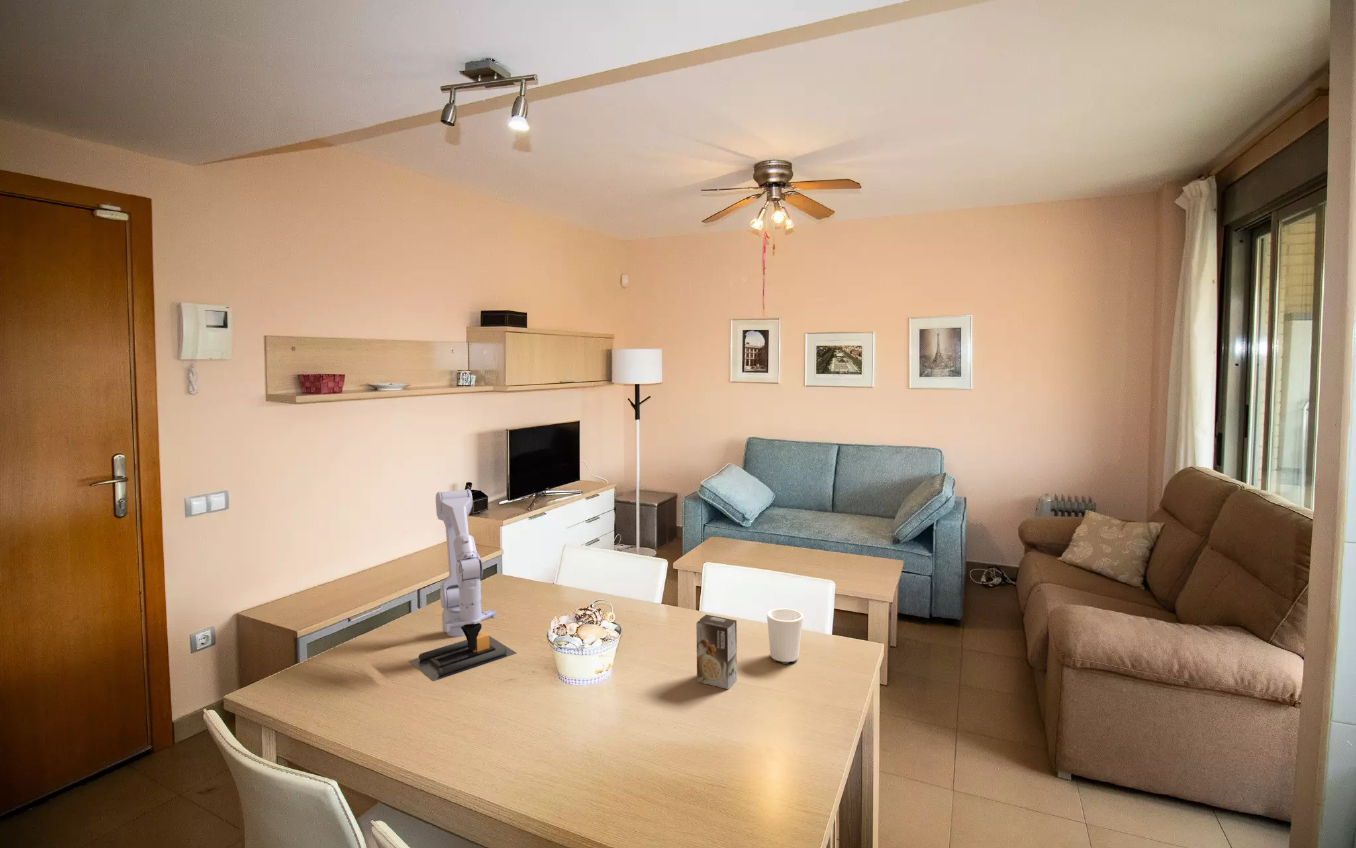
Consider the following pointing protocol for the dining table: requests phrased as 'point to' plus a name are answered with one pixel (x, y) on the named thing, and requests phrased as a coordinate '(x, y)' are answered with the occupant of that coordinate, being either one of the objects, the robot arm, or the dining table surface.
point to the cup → (784, 634)
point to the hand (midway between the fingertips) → (471, 649)
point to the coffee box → (717, 651)
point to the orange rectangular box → (481, 642)
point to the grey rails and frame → (462, 663)
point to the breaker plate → (457, 660)
